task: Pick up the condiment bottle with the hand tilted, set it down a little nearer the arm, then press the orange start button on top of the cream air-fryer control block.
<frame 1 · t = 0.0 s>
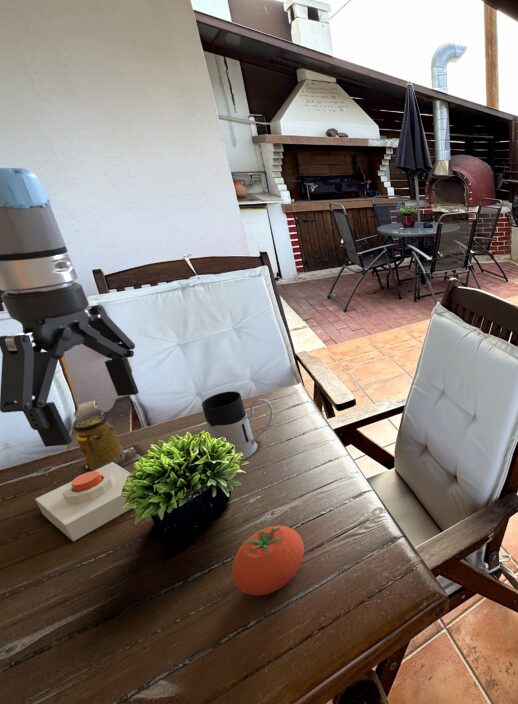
hand: (97, 416, 63), 29 cm above the table, tool pointing down, fingers open, 13 cm apart
condiment: (114, 463, 94), on the table
glass holder: (249, 451, 99), on the table
fryer panel: (98, 506, 82), on the table
tomato: (275, 580, 67), on the table
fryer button: (86, 481, 80), point 6 cm above the table, slide at 0.1 cm
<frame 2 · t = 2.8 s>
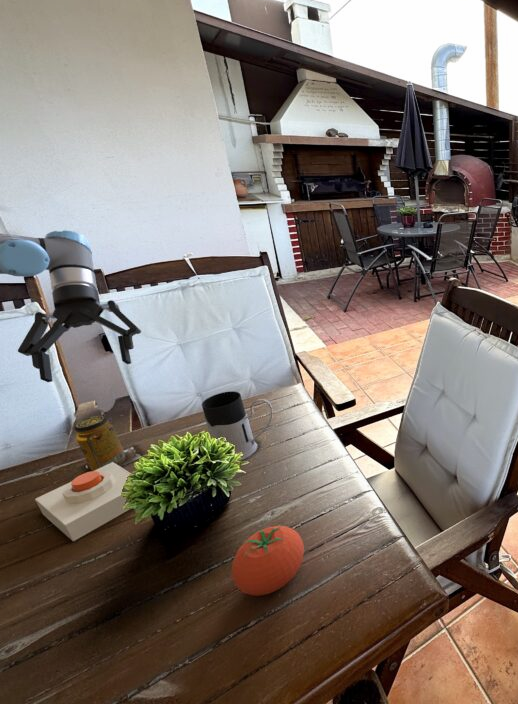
hand: (88, 371, 92), 22 cm above the table, tool tilted 40°, fingers open, 13 cm apart
nothing on the table moved.
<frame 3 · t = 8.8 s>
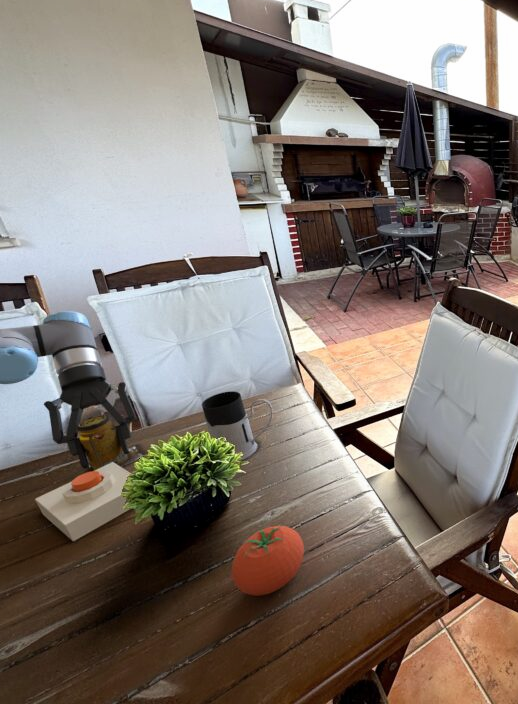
hand: (106, 459, 90), 4 cm above the table, tool tilted 45°, fingers closed on condiment, 6 cm apart
condiment: (116, 462, 95), on the table, touching gripper
everything else where it was.
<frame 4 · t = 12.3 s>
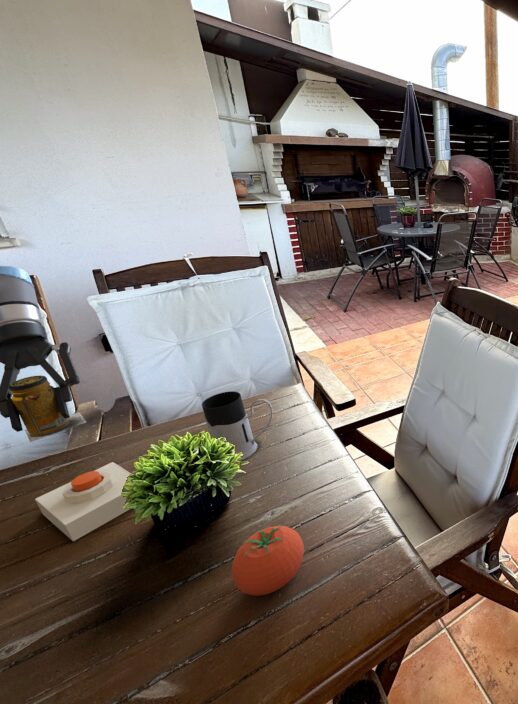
hand: (42, 422, 83), 16 cm above the table, tool tilted 45°, fingers closed on condiment, 6 cm apart
condiment: (57, 427, 88), point 12 cm above the table, touching gripper
everything else where it was.
when the fingers open (4 cm above the table, at t = 15.9 s): condiment stays where it is, on the table.
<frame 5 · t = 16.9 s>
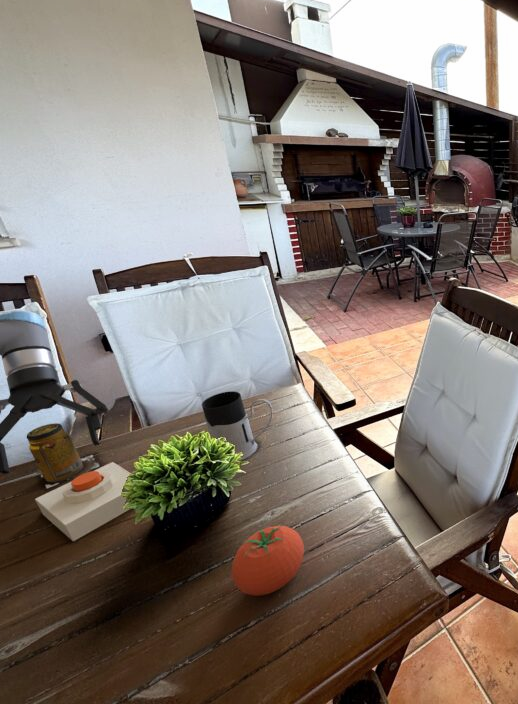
hand: (52, 457, 87), 6 cm above the table, tool tilted 45°, fingers open, 13 cm apart
condiment: (71, 472, 92), on the table
everything else where it was.
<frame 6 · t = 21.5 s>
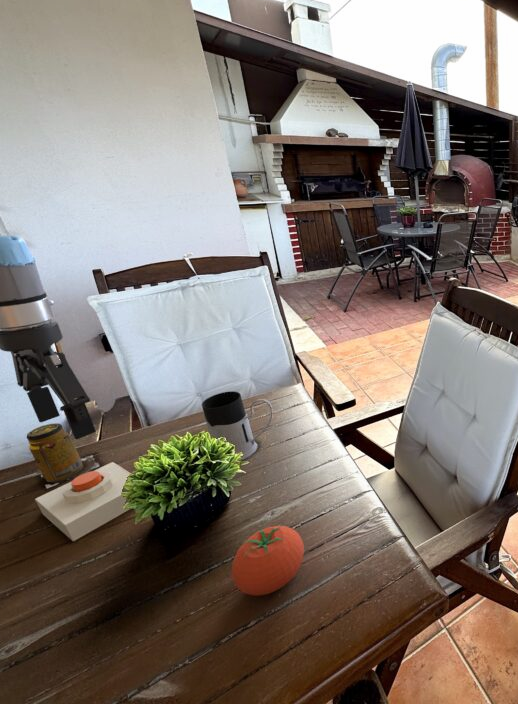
hand: (67, 426, 77), 18 cm above the table, tool pointing down, fingers open, 13 cm apart
nothing on the table moved.
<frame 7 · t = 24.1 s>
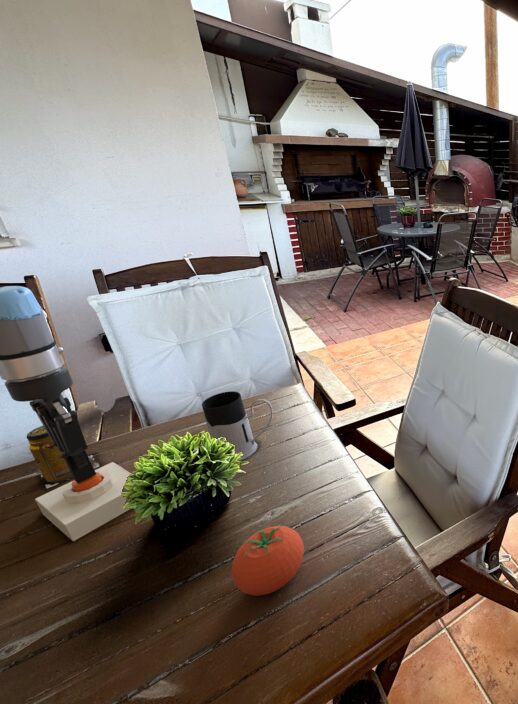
hand: (85, 477, 79), 7 cm above the table, tool pointing down, fingers closed
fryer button: (87, 482, 80), point 6 cm above the table, slide at -0.1 cm, touching gripper
everything else where it was.
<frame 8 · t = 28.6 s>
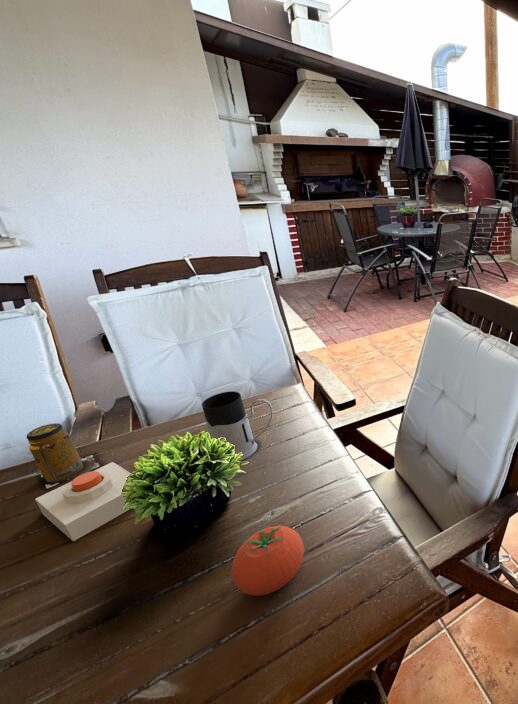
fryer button: (86, 481, 80), point 6 cm above the table, slide at 0.1 cm
everything else where it was.
at the end: condiment inside the target area (1.0 cm from its centre), on the table; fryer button pushed in 1.0 cm at the most during the clip, back to where it started at the end; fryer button slide at 0.1 cm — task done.
